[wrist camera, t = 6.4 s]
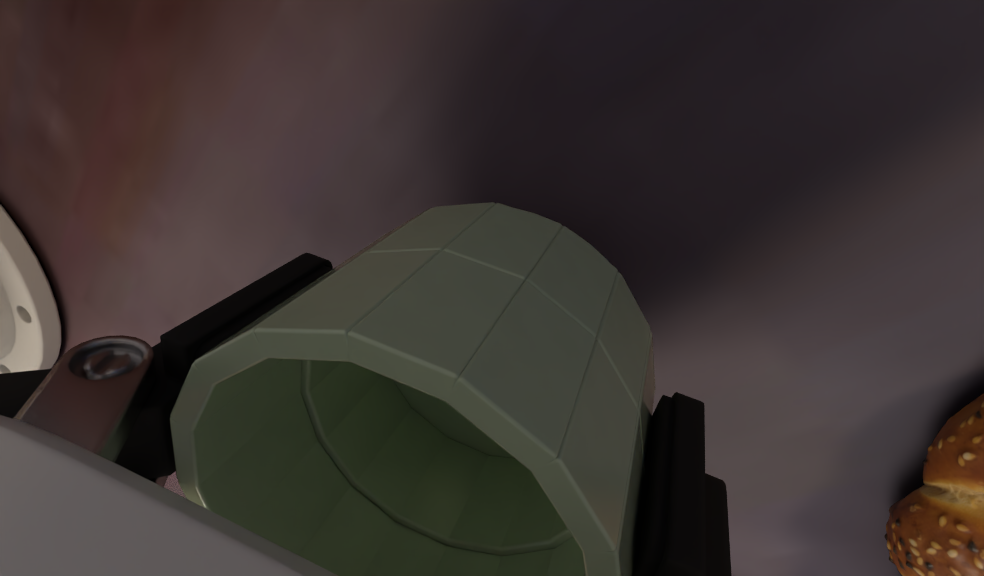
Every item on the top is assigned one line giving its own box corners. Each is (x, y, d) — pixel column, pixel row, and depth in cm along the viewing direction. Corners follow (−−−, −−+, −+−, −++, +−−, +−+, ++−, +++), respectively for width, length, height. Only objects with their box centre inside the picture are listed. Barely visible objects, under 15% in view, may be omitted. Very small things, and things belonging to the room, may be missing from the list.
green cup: (355, 398, 16) (188, 581, 10) (382, 155, 12) (146, 250, 7) (597, 502, 14) (540, 771, 9) (710, 262, 11) (720, 482, 5)
